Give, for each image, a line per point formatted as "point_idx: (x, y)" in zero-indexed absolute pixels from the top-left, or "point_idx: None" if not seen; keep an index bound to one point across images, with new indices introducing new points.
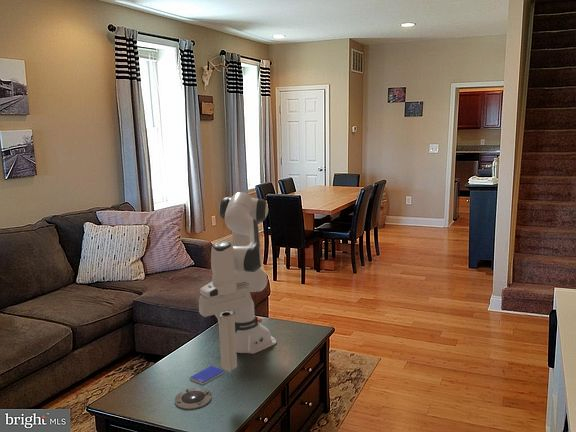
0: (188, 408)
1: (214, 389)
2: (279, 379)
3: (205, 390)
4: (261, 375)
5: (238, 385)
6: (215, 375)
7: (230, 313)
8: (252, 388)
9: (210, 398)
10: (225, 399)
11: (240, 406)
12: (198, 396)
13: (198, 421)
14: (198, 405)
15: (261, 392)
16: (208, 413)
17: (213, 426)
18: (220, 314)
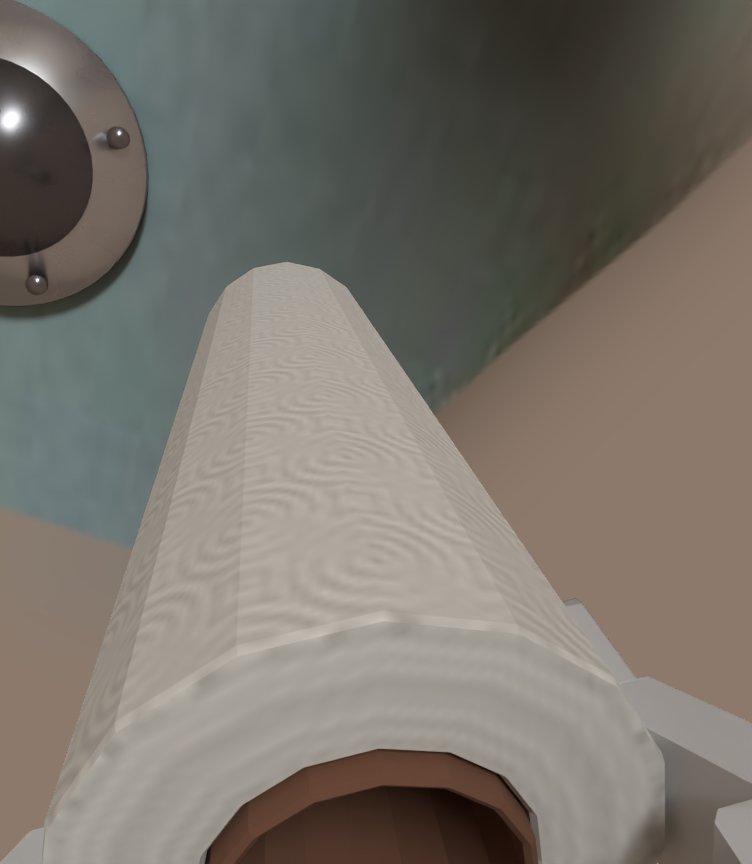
0: None
1: (187, 87)
2: (667, 183)
3: (105, 98)
4: (589, 51)
5: (379, 120)
6: None
7: (539, 860)
8: (455, 216)
9: (129, 242)
10: (238, 275)
11: None
12: (36, 177)
13: (21, 454)
14: (28, 300)
15: (488, 296)
16: (95, 394)
17: (108, 532)
18: (149, 848)
